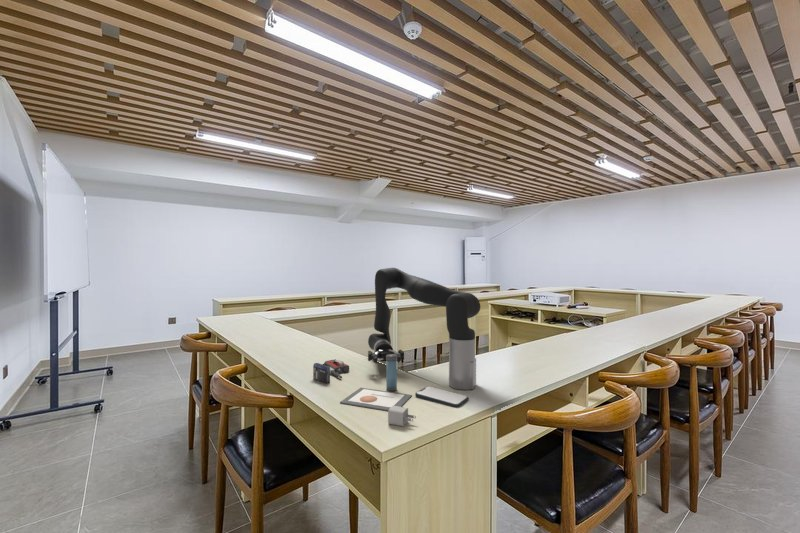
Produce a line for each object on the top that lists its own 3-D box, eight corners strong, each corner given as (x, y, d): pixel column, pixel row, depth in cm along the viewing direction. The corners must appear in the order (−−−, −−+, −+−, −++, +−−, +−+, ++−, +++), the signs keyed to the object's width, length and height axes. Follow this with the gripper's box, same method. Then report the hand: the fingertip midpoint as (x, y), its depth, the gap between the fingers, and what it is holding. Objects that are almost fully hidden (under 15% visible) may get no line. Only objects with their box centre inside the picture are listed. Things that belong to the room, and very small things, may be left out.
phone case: (469, 401, 115) (427, 390, 124) (470, 396, 115) (427, 385, 124) (457, 410, 108) (413, 397, 117) (457, 405, 108) (413, 393, 117)
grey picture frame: (411, 396, 118) (411, 394, 118) (396, 412, 105) (396, 410, 105) (360, 388, 125) (360, 386, 125) (340, 403, 112) (340, 401, 112)
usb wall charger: (393, 418, 101) (394, 404, 101) (416, 423, 98) (416, 408, 98) (388, 424, 97) (388, 410, 97) (411, 429, 94) (411, 414, 94)
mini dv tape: (313, 379, 135) (313, 363, 135) (316, 378, 136) (316, 362, 136) (326, 384, 130) (326, 367, 129) (330, 383, 131) (329, 366, 131)
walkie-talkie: (317, 368, 150) (338, 381, 133) (317, 358, 150) (338, 370, 133) (336, 365, 155) (359, 377, 139) (336, 355, 155) (359, 366, 139)
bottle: (398, 388, 125) (398, 354, 125) (394, 392, 121) (394, 357, 121) (388, 387, 126) (388, 353, 126) (384, 390, 122) (384, 356, 122)
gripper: (366, 341, 149) (369, 351, 133) (399, 340, 152) (406, 349, 136) (366, 359, 150) (368, 370, 133) (399, 358, 152) (406, 369, 136)
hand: (387, 360), depth 135 cm, fingers open, 8 cm apart
